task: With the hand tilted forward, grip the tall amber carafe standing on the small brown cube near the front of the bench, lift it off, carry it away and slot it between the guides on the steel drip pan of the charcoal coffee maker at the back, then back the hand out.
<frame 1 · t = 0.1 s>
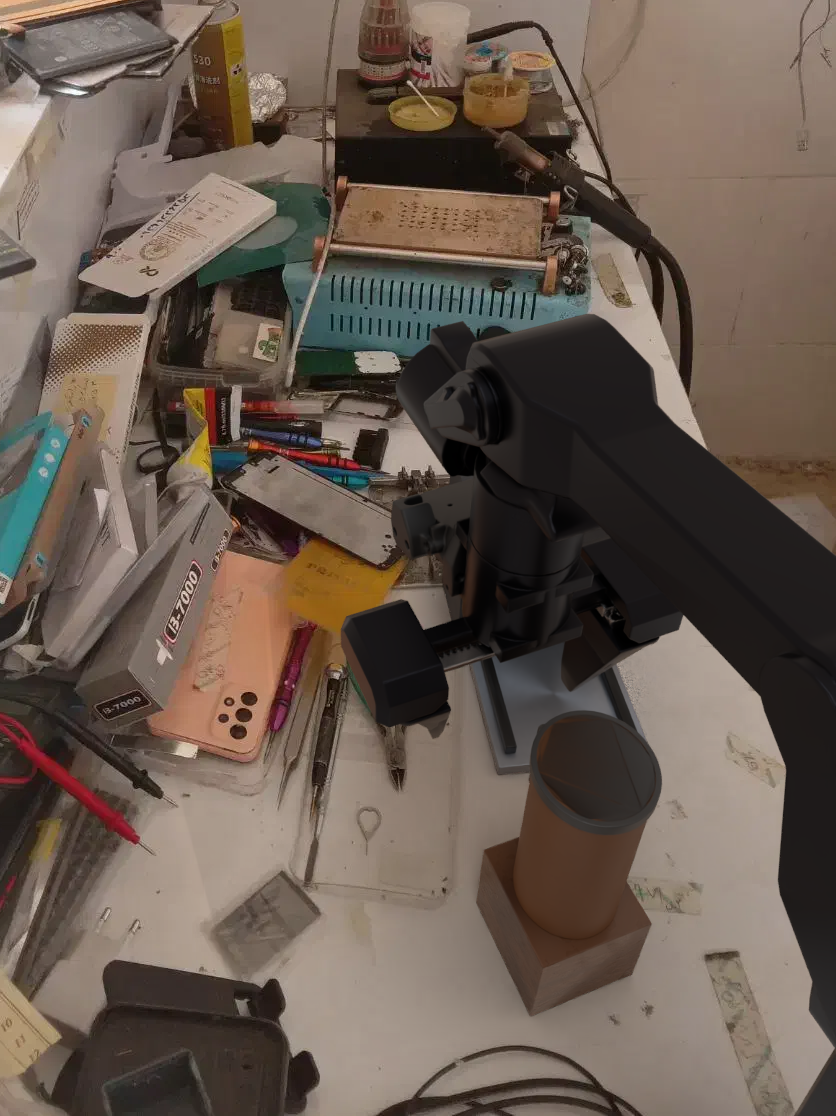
hand: (500, 707, 61), 13 cm above the workbench, tool pointing down, fingers open, 9 cm apart
drip pan: (552, 700, 76), on the workbench
brown cube: (551, 937, 63), on the workbench
carafe: (565, 885, 58), point 7 cm above the workbench, touching brown cube
tape roll: (580, 504, 92), on the workbench
coffee maker: (521, 606, 83), on the workbench
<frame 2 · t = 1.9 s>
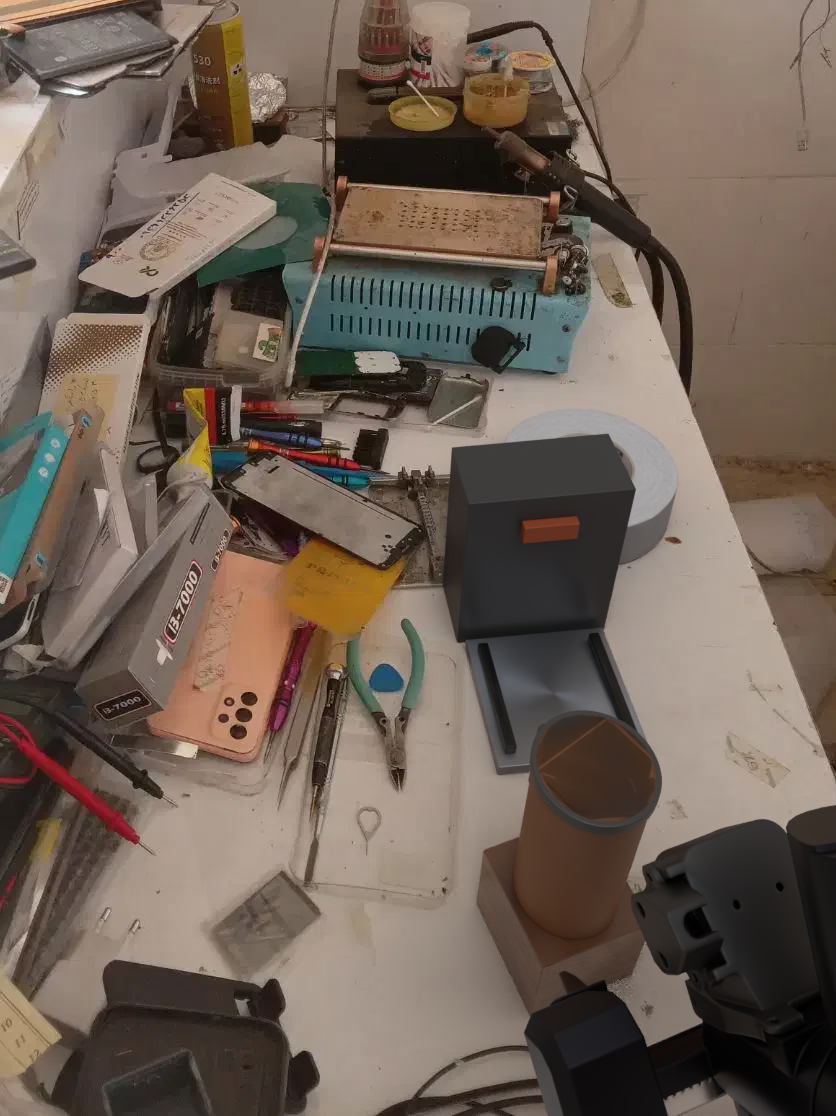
hand: (646, 948, 49), 14 cm above the workbench, tool tilted 45°, fingers open, 9 cm apart
nothing on the workbench moved.
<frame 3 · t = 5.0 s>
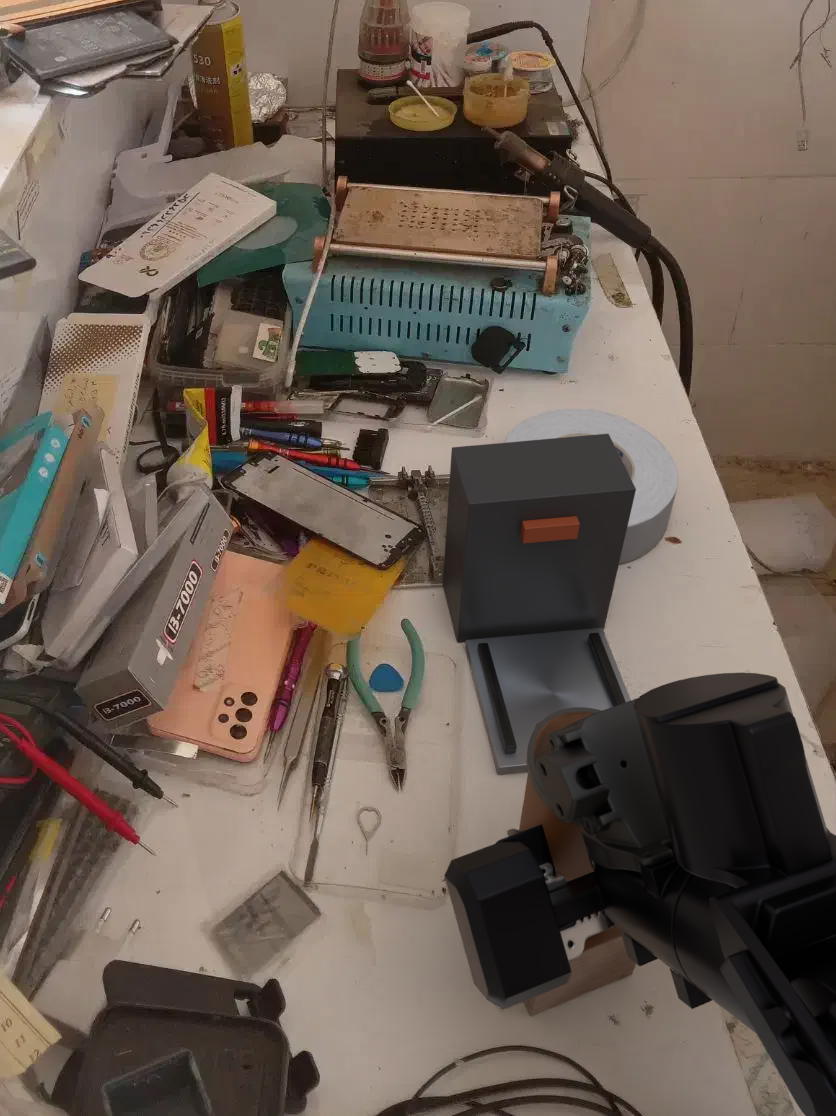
hand: (562, 819, 56), 12 cm above the workbench, tool tilted 45°, fingers closed on carafe, 6 cm apart
carafe: (564, 885, 58), point 7 cm above the workbench, touching gripper, brown cube
everything else where it was.
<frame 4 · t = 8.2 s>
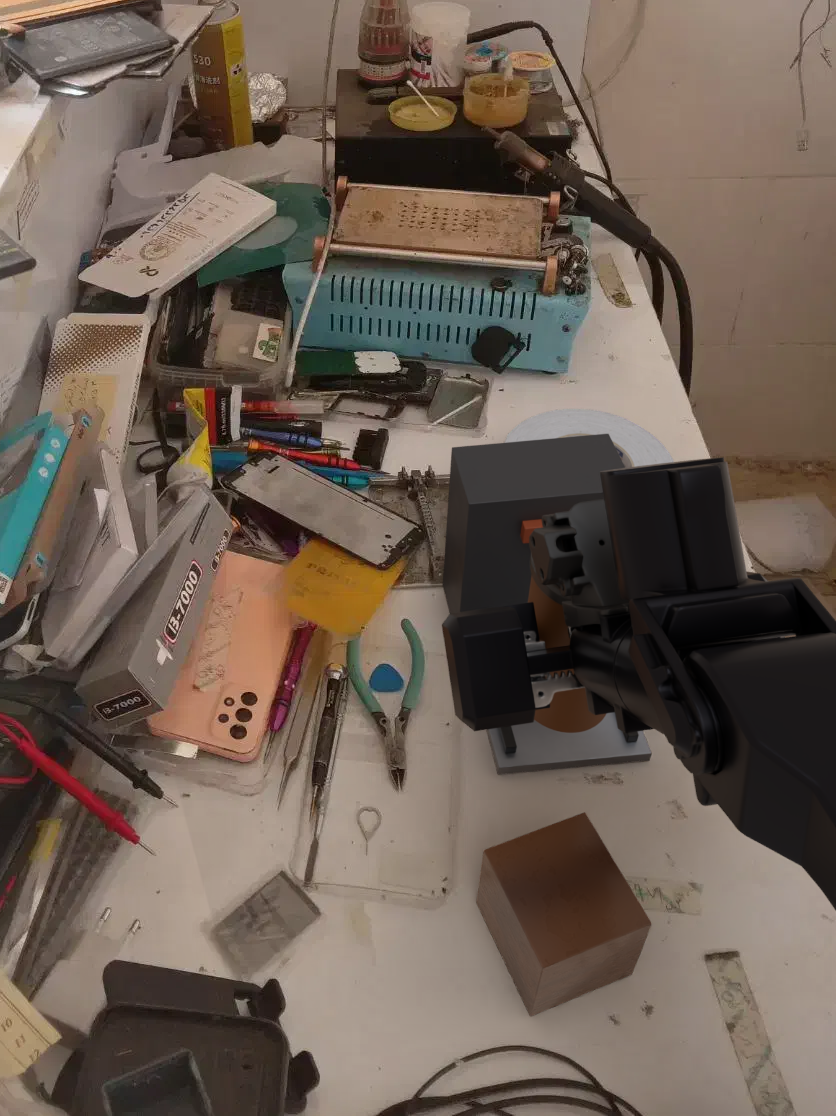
hand: (564, 628, 65), 14 cm above the workbench, tool tilted 45°, fingers closed on carafe, 6 cm apart
carafe: (562, 693, 67), point 9 cm above the workbench, touching gripper
everything else where it was.
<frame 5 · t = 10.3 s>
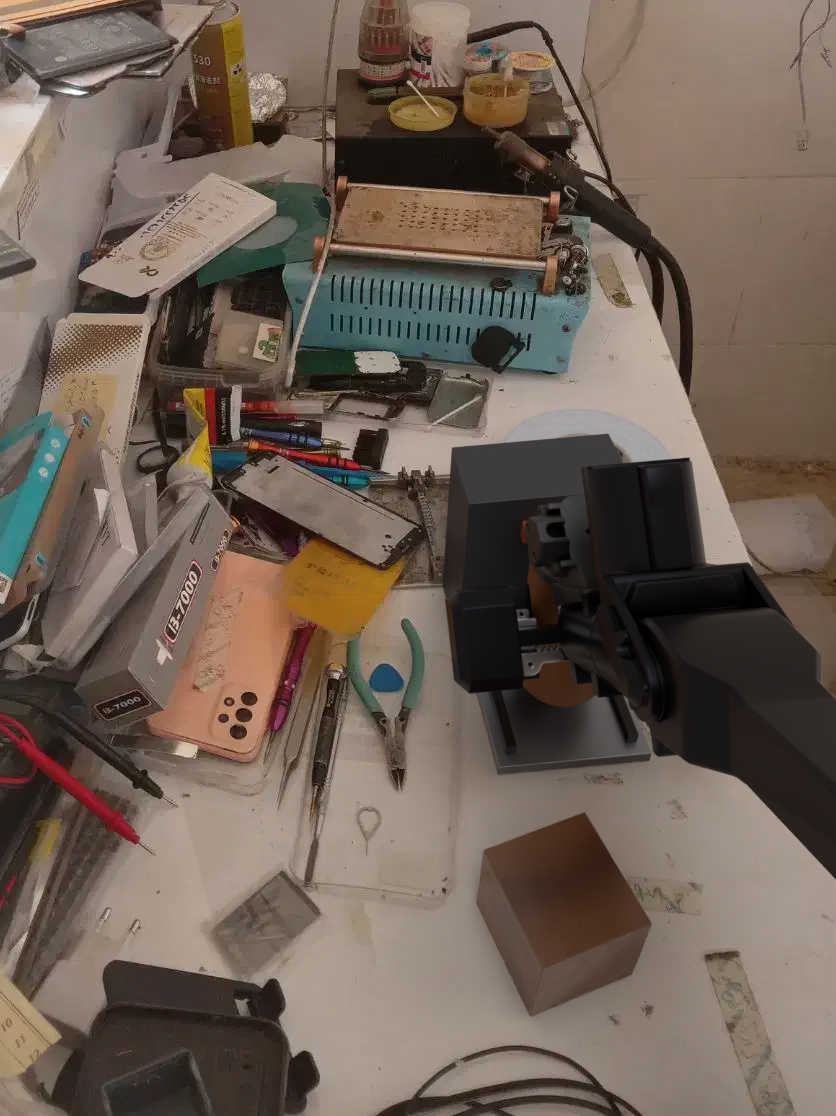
hand: (560, 613, 71), 9 cm above the workbench, tool tilted 45°, fingers closed on carafe, 6 cm apart
carafe: (558, 672, 73), point 4 cm above the workbench, touching gripper
everything else where it was.
when the fingers open (6 cm above the workbench, at t = 11.7 s): carafe stays where it is, resting on drip pan.
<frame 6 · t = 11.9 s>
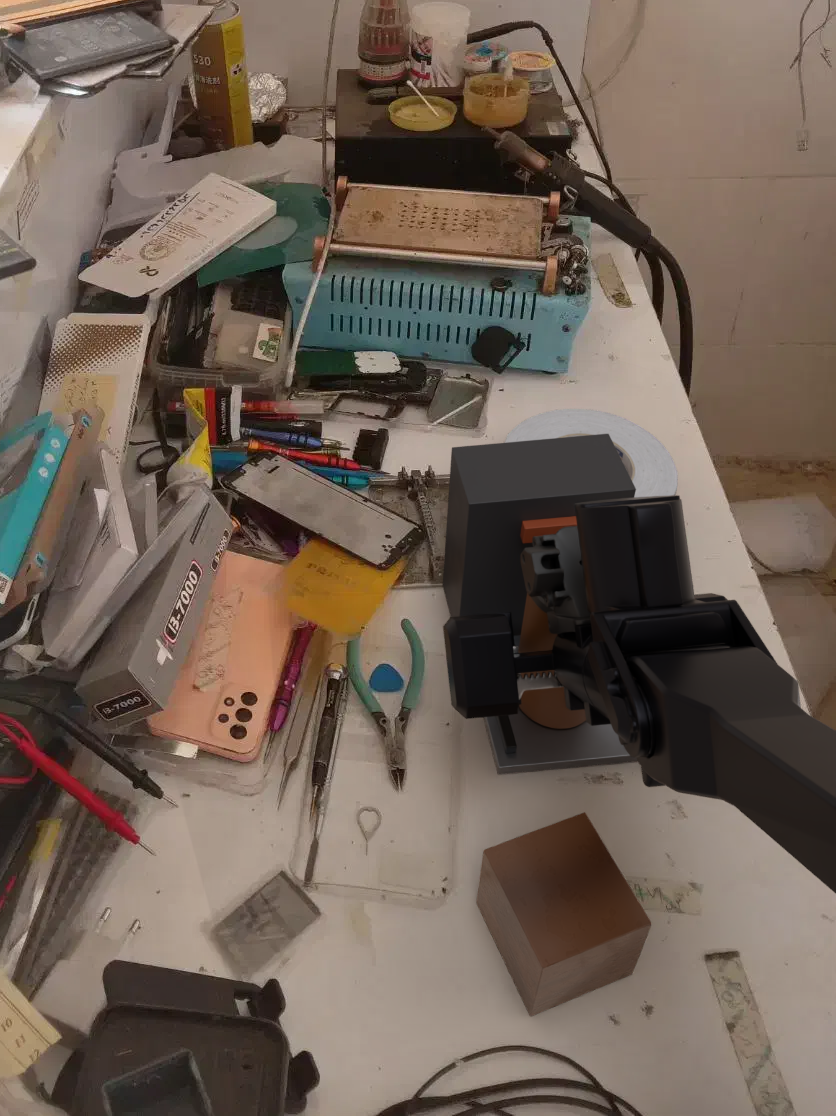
hand: (555, 636, 73), 6 cm above the workbench, tool tilted 45°, fingers open, 8 cm apart
carafe: (553, 693, 75), point 1 cm above the workbench, touching drip pan, gripper
everything else where it was.
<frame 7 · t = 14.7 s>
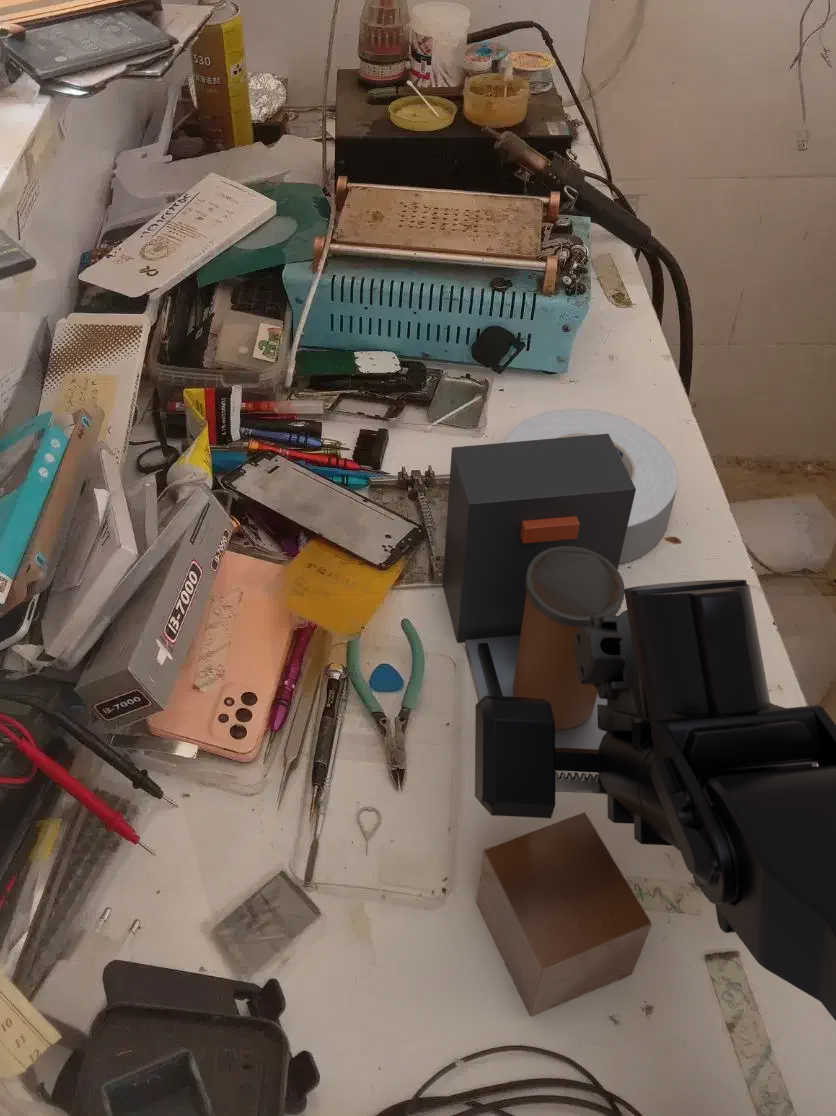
hand: (595, 735, 65), 8 cm above the workbench, tool tilted 40°, fingers open, 9 cm apart
carafe: (553, 694, 75), point 1 cm above the workbench, touching drip pan
everything else where it was.
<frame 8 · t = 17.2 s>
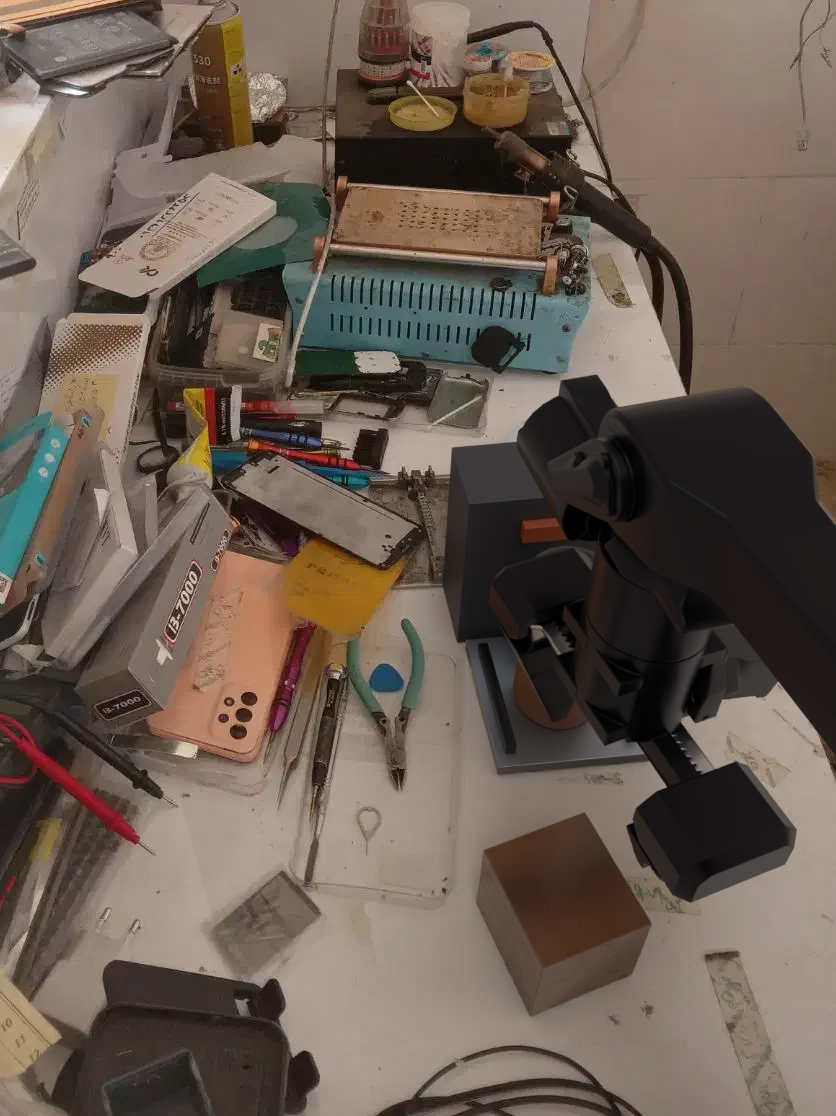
hand: (600, 785, 57), 13 cm above the workbench, tool pointing down, fingers open, 9 cm apart
nothing on the workbench moved.
at the end: carafe 0.1 cm off-centre on the drip pan, point 1.0 cm above the drip pan's base; carafe tilted 0°; the gripper is holding nothing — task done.
